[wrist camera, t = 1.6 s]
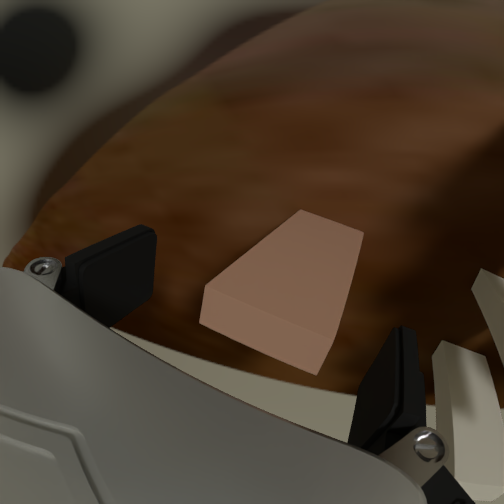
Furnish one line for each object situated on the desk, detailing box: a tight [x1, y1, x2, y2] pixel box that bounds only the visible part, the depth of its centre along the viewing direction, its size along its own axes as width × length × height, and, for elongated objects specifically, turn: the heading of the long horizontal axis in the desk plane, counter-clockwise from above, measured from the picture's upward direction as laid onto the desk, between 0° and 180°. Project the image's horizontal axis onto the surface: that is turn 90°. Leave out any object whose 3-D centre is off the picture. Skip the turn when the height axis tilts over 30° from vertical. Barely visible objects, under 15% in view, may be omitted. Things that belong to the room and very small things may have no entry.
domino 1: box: [199, 210, 364, 375], centre depth 15 cm, size 4×2×12 cm, turn 76°
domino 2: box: [432, 340, 504, 502], centre depth 14 cm, size 4×2×12 cm, turn 76°
